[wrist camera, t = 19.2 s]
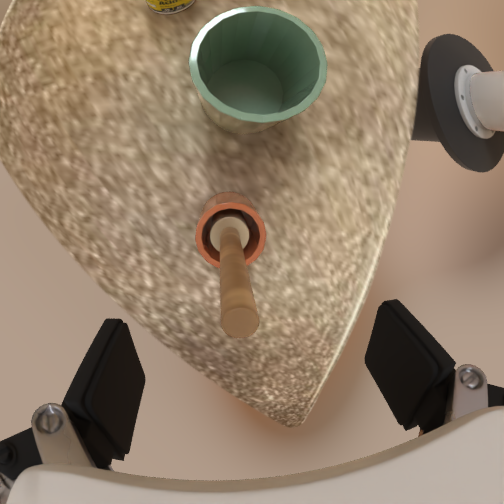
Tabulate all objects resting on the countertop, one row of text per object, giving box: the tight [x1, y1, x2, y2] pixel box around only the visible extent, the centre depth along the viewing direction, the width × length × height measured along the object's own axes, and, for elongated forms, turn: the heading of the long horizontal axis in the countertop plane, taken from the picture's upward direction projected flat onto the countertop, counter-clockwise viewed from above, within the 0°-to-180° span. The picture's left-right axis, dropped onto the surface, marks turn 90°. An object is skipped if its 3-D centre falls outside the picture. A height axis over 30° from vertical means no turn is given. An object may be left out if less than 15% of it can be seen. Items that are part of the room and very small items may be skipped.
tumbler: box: [189, 6, 327, 134], centre depth 18 cm, size 8×8×11 cm
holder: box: [195, 192, 266, 268], centre depth 25 cm, size 6×6×6 cm
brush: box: [210, 208, 259, 338], centre depth 19 cm, size 3×3×17 cm
